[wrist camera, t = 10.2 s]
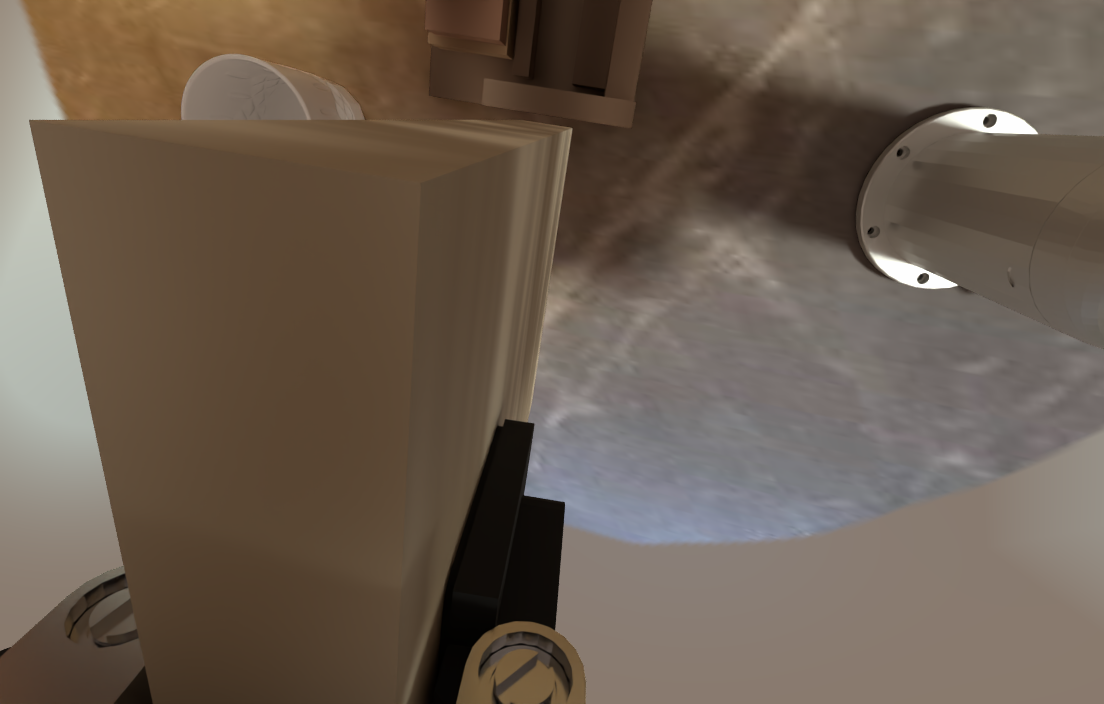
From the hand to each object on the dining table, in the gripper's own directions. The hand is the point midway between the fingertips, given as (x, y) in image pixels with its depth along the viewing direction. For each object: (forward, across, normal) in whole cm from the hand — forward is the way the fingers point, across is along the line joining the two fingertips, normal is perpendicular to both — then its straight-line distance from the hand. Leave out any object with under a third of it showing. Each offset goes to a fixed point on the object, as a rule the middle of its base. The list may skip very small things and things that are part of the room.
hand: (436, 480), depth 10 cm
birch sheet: (+15, 0, 0) cm, 15 cm away
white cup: (+35, +18, -3) cm, 40 cm away
